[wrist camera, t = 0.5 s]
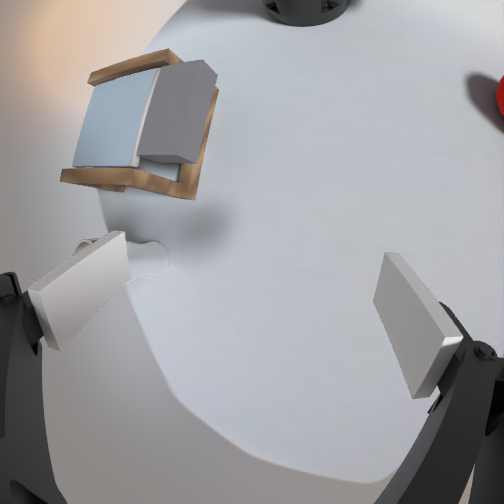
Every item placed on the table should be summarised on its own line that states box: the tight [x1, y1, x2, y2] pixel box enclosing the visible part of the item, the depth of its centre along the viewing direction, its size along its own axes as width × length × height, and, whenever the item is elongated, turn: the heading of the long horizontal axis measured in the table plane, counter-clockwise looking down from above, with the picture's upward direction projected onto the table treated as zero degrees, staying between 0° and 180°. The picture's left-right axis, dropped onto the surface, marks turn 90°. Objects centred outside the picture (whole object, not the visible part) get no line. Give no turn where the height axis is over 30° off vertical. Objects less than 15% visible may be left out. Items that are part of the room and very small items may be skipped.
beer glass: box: [72, 238, 169, 285], centre depth 38 cm, size 7×7×15 cm
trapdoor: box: [72, 60, 218, 168], centre depth 32 cm, size 14×22×4 cm, turn 79°
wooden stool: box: [60, 49, 219, 200], centre depth 38 cm, size 19×19×14 cm
